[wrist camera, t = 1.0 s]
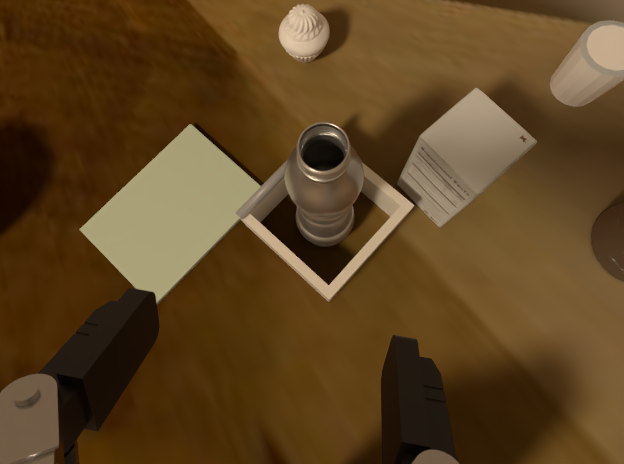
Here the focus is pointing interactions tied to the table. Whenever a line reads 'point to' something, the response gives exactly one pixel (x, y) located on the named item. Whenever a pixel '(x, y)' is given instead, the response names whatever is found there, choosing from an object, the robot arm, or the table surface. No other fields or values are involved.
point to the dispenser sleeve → (252, 218)
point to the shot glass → (591, 65)
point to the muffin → (304, 33)
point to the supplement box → (462, 156)
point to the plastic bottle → (324, 183)
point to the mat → (171, 213)
